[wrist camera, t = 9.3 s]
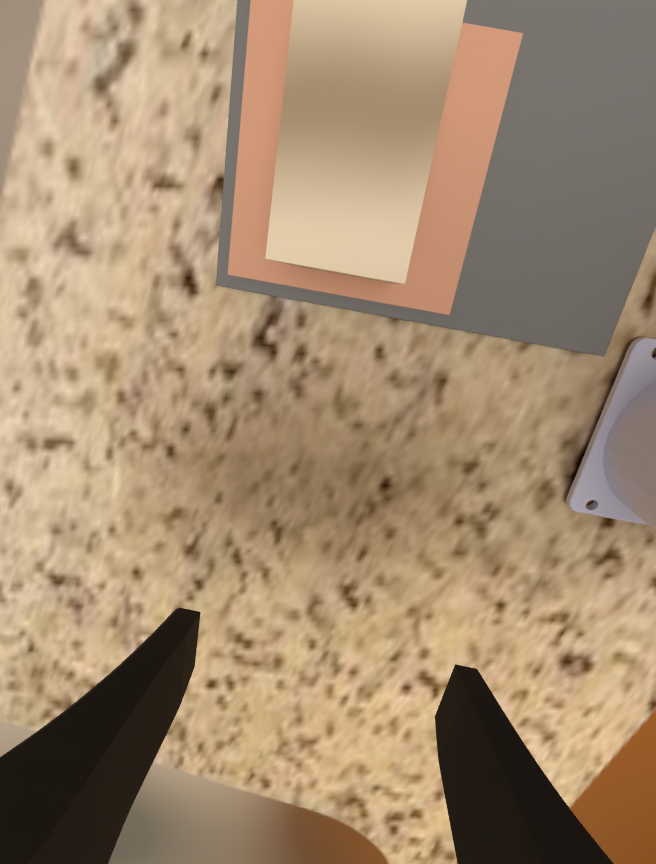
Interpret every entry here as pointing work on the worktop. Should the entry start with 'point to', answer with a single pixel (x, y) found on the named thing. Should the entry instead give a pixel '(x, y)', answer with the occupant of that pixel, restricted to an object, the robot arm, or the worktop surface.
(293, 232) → the birch block
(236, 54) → the rubber mat
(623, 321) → the worktop surface
